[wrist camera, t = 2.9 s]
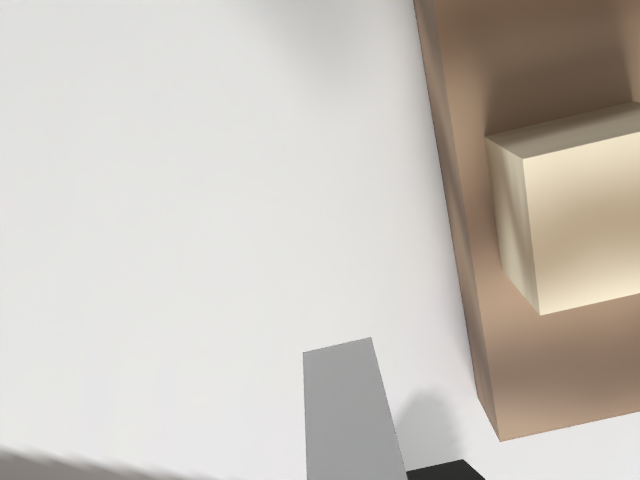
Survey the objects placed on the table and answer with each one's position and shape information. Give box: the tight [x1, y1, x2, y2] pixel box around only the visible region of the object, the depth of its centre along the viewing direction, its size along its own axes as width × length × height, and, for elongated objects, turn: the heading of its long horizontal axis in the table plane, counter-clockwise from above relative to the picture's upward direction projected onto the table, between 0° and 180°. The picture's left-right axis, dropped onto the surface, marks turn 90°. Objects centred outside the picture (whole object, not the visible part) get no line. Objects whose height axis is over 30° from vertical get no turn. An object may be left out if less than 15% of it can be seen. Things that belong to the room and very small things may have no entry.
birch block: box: [484, 101, 640, 316], centre depth 19 cm, size 5×5×4 cm
